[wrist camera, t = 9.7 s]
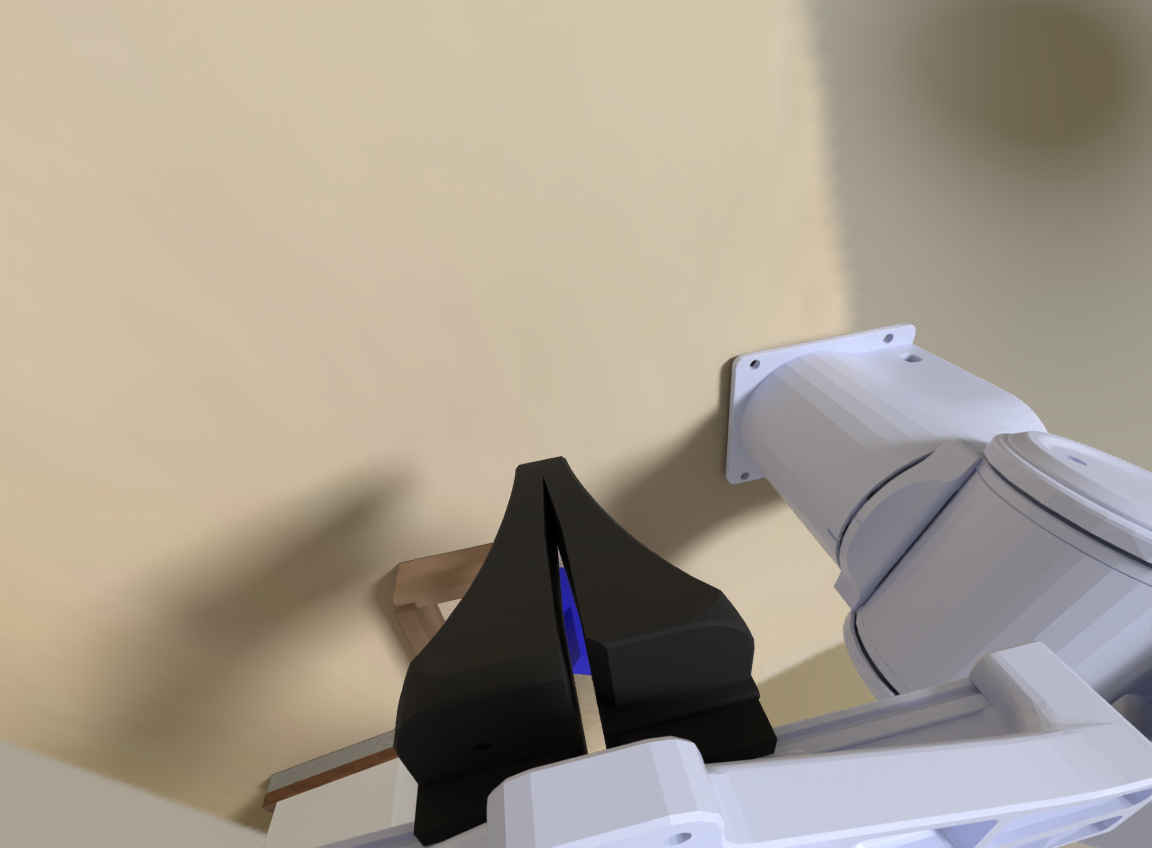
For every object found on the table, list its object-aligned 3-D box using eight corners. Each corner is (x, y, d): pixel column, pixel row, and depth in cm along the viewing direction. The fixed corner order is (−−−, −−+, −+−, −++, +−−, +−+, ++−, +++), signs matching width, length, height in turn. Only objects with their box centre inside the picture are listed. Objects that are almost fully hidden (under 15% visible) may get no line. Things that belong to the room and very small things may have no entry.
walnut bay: (522, 536, 27) (526, 578, 25) (565, 699, 37) (571, 740, 35) (399, 563, 27) (390, 608, 24) (475, 721, 37) (475, 765, 34)
